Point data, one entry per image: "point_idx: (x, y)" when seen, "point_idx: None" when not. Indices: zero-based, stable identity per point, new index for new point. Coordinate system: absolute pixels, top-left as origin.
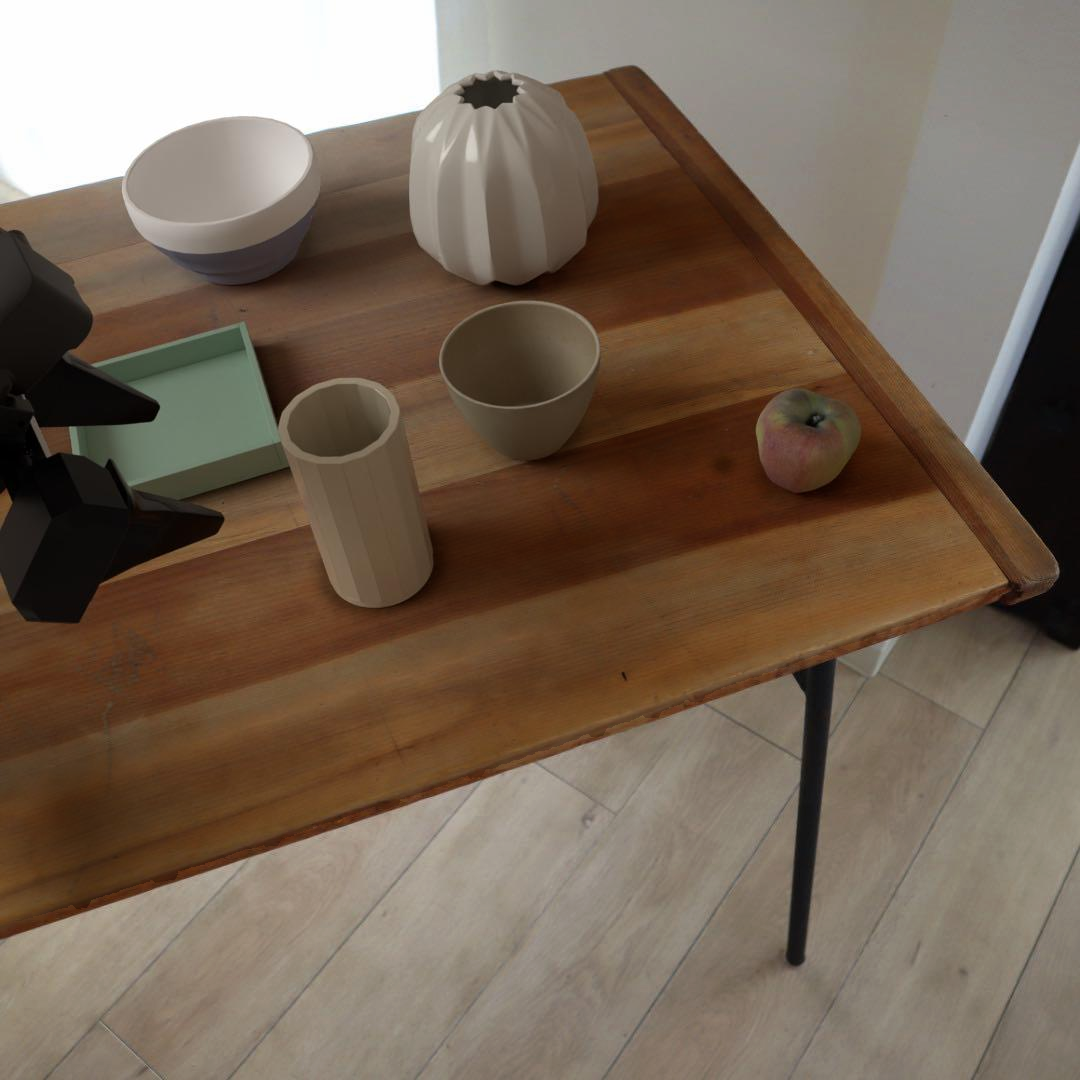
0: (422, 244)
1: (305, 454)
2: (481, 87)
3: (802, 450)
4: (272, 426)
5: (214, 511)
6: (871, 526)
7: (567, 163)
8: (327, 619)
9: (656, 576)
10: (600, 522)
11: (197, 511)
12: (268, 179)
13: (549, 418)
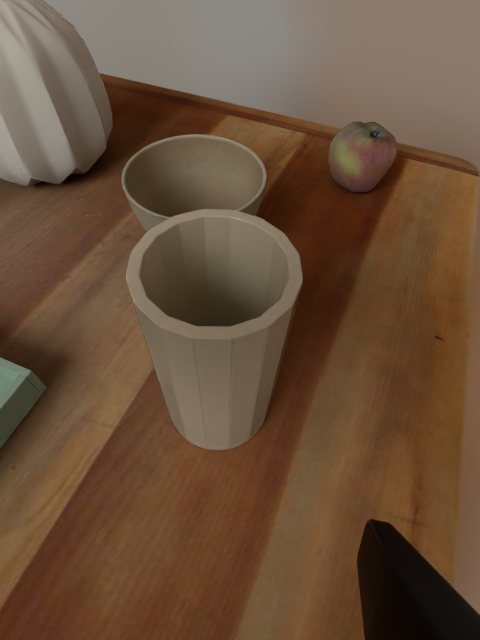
0: None
1: (240, 327)
2: None
3: (389, 152)
4: (6, 365)
5: (385, 534)
6: (411, 187)
7: (84, 48)
8: (232, 477)
9: (372, 273)
10: (306, 267)
11: (444, 591)
12: None
13: (258, 207)
